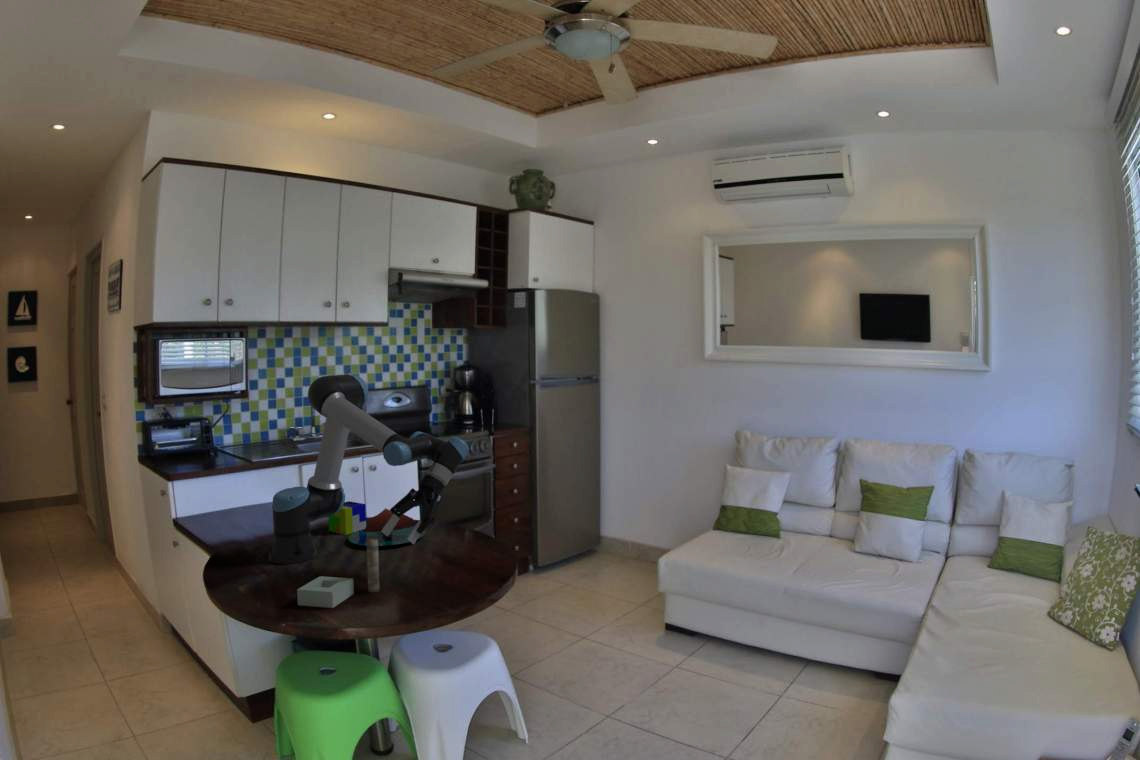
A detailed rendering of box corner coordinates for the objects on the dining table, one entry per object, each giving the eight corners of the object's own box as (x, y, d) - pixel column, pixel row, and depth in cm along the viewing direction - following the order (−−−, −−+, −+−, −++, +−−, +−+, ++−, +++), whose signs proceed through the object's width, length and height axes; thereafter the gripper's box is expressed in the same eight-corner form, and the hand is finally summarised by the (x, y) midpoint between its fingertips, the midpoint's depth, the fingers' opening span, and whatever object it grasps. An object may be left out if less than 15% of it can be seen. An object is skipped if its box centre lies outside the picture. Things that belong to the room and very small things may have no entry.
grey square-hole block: (297, 605, 190) (297, 589, 190) (320, 591, 201) (319, 576, 201) (332, 608, 188) (332, 592, 188) (353, 593, 199) (353, 578, 198)
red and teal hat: (352, 554, 236) (351, 523, 236) (345, 534, 262) (344, 506, 261) (432, 544, 247) (431, 514, 247) (417, 525, 273) (417, 498, 272)
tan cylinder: (365, 592, 200) (364, 542, 199) (371, 588, 203) (370, 538, 202) (376, 592, 199) (374, 542, 198) (381, 588, 202) (380, 539, 201)
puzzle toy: (366, 528, 270) (365, 504, 269) (345, 535, 261) (345, 509, 261) (349, 525, 275) (348, 501, 275) (329, 531, 267) (328, 506, 266)
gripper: (467, 492, 210) (429, 551, 200) (419, 482, 227) (381, 537, 216) (453, 478, 206) (414, 538, 195) (405, 469, 222) (366, 524, 212)
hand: (397, 537), depth 206 cm, fingers open, 13 cm apart
